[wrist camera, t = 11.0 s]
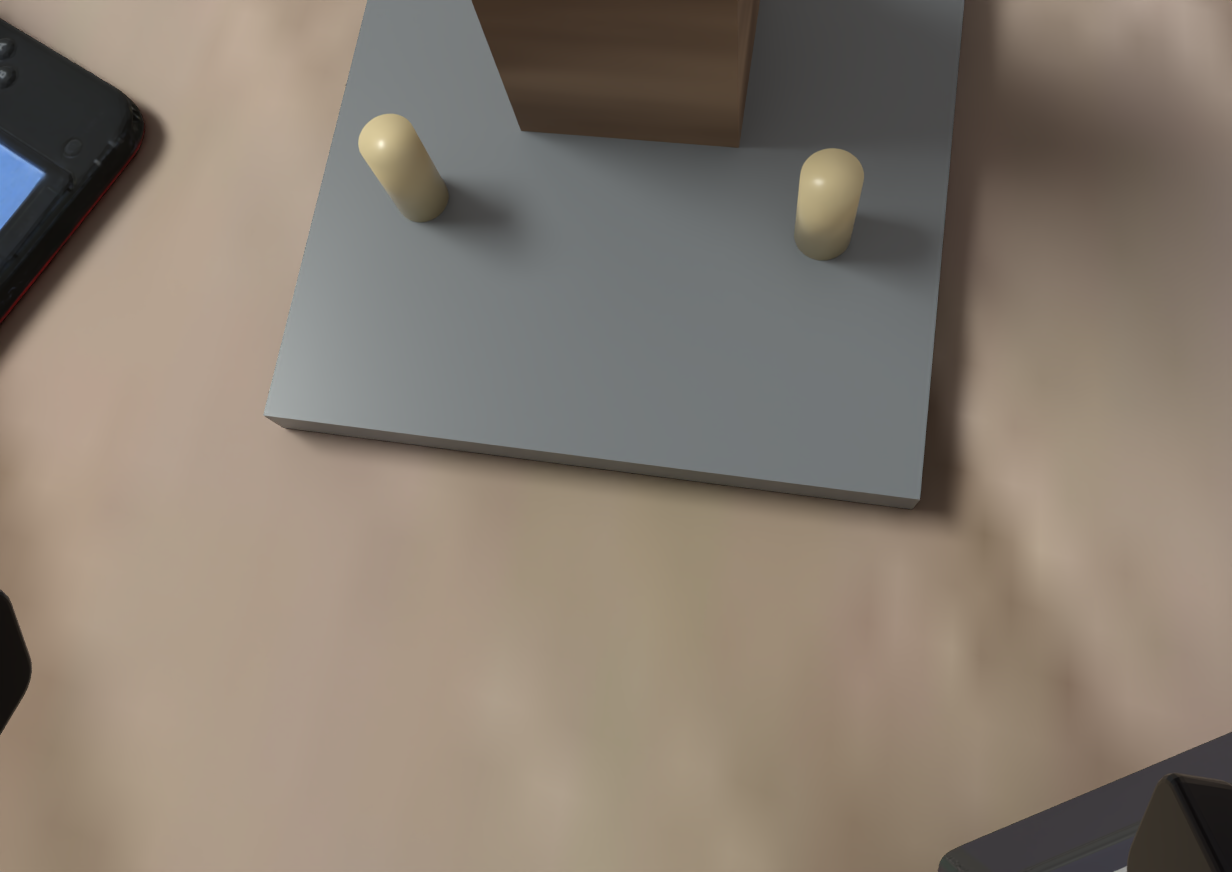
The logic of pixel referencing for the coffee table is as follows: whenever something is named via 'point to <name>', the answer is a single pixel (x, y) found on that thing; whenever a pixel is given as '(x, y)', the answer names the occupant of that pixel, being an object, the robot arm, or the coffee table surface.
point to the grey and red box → (1086, 822)
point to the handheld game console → (52, 154)
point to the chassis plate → (637, 262)
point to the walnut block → (625, 66)
